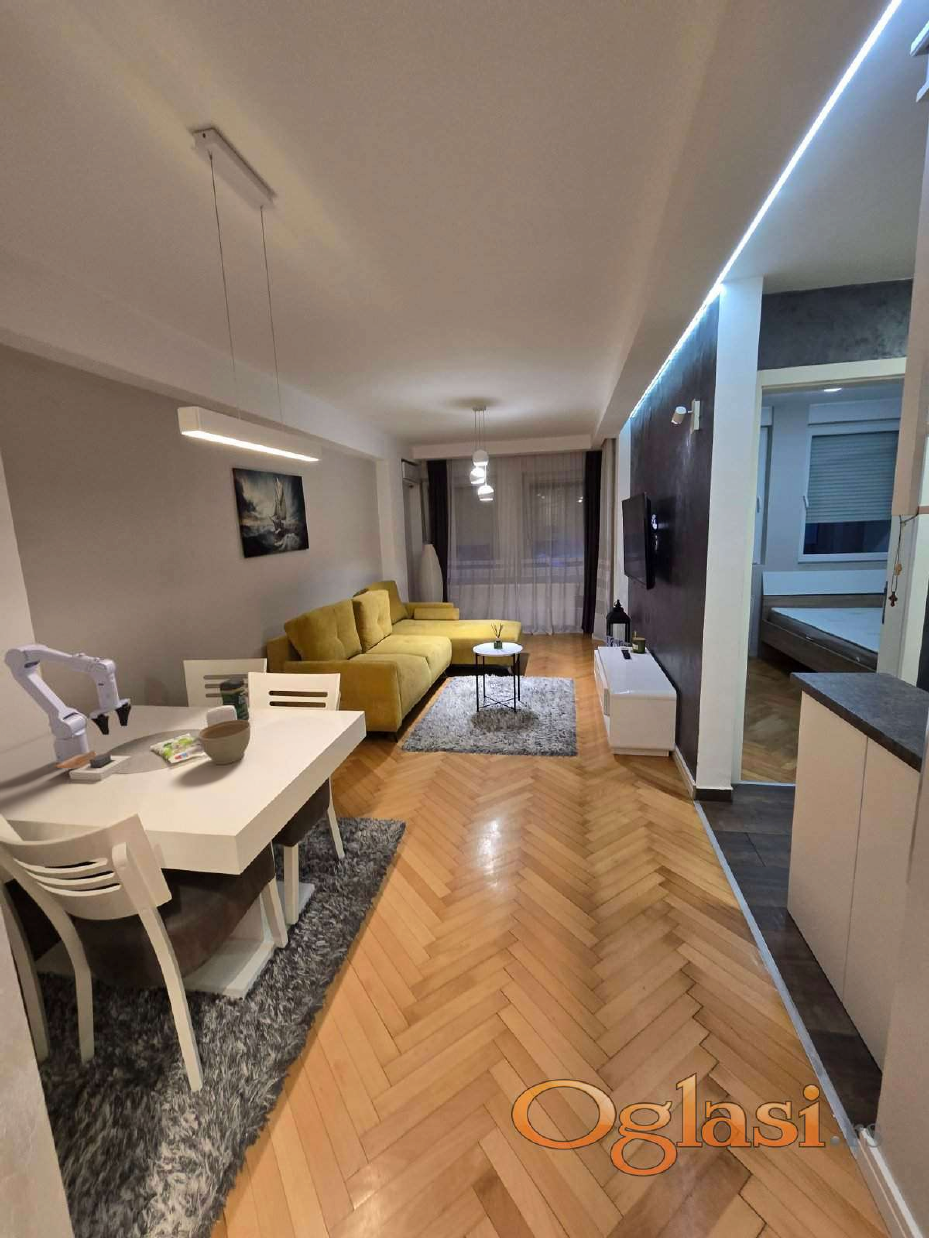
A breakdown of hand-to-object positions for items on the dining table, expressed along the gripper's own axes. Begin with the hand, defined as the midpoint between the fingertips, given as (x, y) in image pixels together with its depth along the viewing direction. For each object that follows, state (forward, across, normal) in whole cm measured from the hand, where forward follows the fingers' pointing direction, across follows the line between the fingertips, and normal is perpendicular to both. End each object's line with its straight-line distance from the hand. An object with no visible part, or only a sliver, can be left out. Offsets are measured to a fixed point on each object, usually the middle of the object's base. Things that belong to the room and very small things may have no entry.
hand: (115, 730), depth 179 cm
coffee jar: (+10, +31, -26) cm, 42 cm away
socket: (+9, -12, -5) cm, 16 cm away
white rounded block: (+10, +16, -31) cm, 36 cm away
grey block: (+10, -12, -5) cm, 16 cm away
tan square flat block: (+7, -12, +4) cm, 14 cm away
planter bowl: (+10, -1, -45) cm, 46 cm away
